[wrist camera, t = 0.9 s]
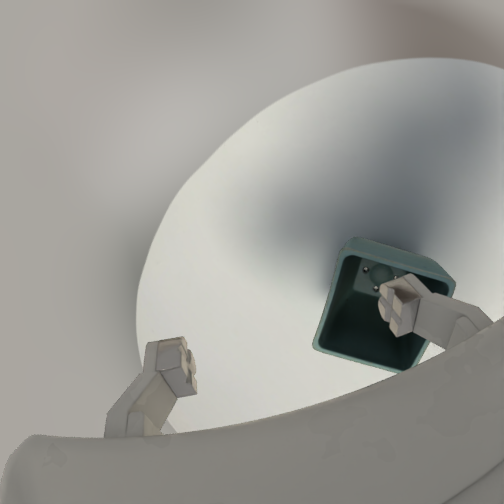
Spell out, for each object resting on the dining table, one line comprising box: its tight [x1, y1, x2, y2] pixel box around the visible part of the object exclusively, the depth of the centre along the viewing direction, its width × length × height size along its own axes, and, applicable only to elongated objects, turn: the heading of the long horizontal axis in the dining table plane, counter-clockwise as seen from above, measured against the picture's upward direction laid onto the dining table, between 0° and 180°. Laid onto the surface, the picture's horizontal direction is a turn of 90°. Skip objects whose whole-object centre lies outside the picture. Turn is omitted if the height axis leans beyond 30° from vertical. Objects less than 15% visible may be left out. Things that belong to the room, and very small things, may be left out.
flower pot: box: [312, 237, 456, 374], centre depth 23 cm, size 9×9×9 cm
